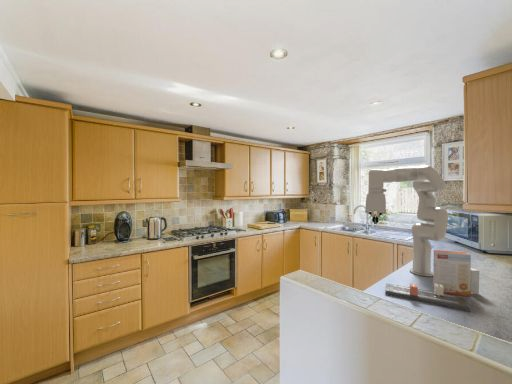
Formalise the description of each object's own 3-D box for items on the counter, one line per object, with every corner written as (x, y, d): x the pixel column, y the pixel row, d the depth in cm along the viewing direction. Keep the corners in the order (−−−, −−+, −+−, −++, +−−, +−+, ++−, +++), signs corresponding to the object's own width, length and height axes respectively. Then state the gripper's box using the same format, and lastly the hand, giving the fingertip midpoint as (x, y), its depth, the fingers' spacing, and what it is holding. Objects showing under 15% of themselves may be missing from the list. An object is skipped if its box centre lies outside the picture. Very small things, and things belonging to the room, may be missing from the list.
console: (386, 286, 128) (386, 282, 128) (463, 301, 112) (463, 297, 112) (385, 294, 118) (385, 290, 118) (470, 311, 102) (470, 306, 102)
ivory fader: (434, 291, 118) (434, 283, 118) (441, 292, 116) (441, 284, 116) (435, 294, 114) (435, 285, 114) (443, 295, 113) (443, 287, 113)
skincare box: (460, 289, 127) (461, 266, 127) (469, 289, 127) (469, 266, 127) (470, 293, 121) (471, 270, 121) (479, 294, 121) (480, 270, 121)
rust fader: (409, 291, 117) (409, 283, 117) (416, 293, 115) (417, 284, 115) (410, 294, 113) (410, 286, 113) (417, 296, 112) (417, 287, 112)
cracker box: (464, 292, 123) (465, 251, 123) (470, 297, 117) (471, 254, 117) (432, 288, 127) (433, 249, 127) (436, 292, 122) (437, 251, 121)
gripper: (390, 191, 133) (390, 224, 134) (361, 191, 140) (361, 222, 141) (391, 191, 127) (390, 225, 127) (360, 191, 134) (360, 223, 134)
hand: (375, 223), depth 134 cm, fingers closed
